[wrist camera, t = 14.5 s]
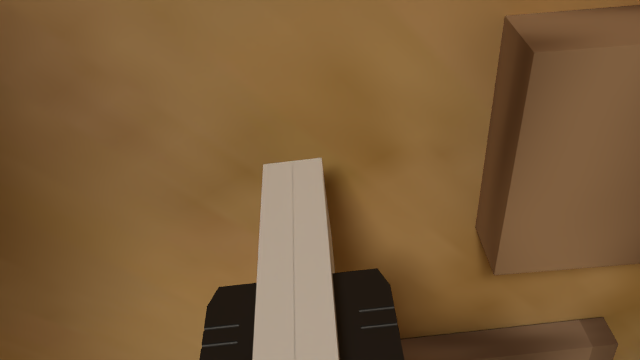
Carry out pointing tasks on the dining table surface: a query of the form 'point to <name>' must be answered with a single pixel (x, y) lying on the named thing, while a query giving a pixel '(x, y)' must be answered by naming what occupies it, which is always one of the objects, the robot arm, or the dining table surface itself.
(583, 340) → the brown square frame
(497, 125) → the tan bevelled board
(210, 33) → the dining table surface
